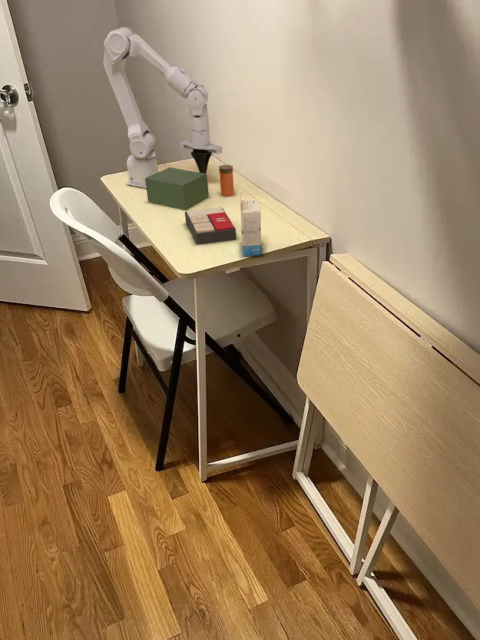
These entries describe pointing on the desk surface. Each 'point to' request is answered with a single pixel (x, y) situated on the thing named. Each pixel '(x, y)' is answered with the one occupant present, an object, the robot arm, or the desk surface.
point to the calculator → (210, 225)
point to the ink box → (250, 227)
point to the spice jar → (226, 180)
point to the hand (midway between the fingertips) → (203, 173)
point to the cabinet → (177, 188)
